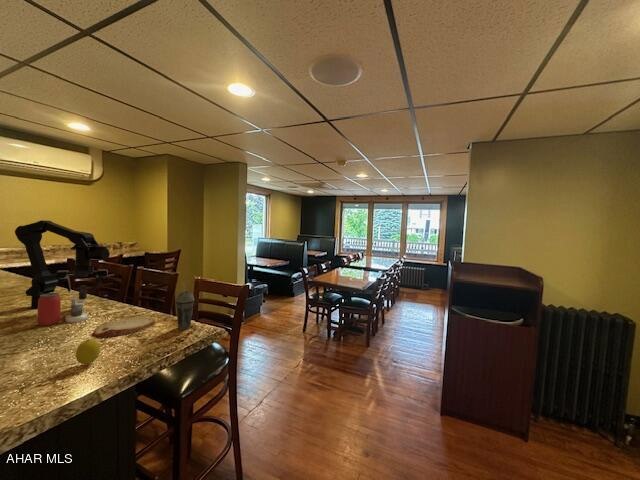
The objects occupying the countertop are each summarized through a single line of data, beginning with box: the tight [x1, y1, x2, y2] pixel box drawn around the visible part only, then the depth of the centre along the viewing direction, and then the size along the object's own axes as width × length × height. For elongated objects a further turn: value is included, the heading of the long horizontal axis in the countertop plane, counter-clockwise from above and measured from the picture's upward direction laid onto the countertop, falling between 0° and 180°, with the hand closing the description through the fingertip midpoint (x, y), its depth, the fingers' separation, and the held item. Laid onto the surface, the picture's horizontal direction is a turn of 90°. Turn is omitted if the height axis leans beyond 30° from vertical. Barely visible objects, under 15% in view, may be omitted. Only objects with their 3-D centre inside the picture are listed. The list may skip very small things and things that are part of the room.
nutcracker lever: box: [70, 284, 88, 316], centre depth 122 cm, size 22×4×9 cm, turn 35°
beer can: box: [37, 292, 62, 327], centre depth 110 cm, size 7×7×12 cm
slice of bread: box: [92, 315, 156, 339], centre depth 110 cm, size 18×18×4 cm
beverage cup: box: [175, 281, 195, 331], centre depth 114 cm, size 7×7×20 cm
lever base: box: [65, 312, 88, 324], centre depth 115 cm, size 7×7×2 cm
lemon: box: [75, 338, 101, 366], centre depth 81 cm, size 6×6×8 cm
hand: (82, 291), depth 130 cm, fingers open, 9 cm apart
